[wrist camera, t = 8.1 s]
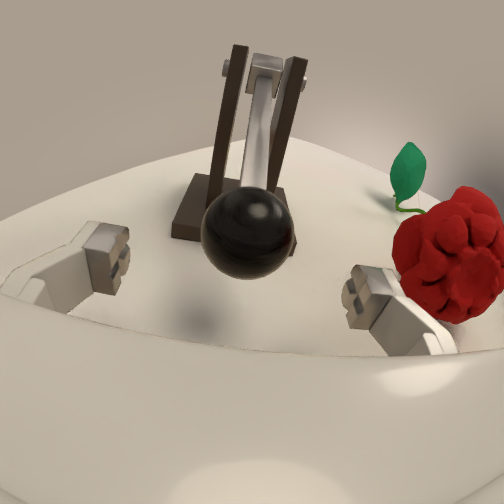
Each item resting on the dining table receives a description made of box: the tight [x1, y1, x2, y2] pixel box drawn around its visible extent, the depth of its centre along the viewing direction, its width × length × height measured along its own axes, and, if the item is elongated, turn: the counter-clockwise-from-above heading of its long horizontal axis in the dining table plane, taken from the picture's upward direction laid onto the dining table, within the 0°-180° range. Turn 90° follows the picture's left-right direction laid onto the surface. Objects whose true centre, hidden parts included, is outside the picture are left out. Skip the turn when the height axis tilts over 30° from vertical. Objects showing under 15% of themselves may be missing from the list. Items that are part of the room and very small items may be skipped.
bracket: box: [171, 44, 308, 256], centre depth 21 cm, size 10×9×14 cm
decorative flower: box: [390, 142, 504, 324], centre depth 24 cm, size 14×30×10 cm, turn 155°
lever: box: [201, 53, 294, 280], centre depth 15 cm, size 17×4×4 cm, turn 1°
